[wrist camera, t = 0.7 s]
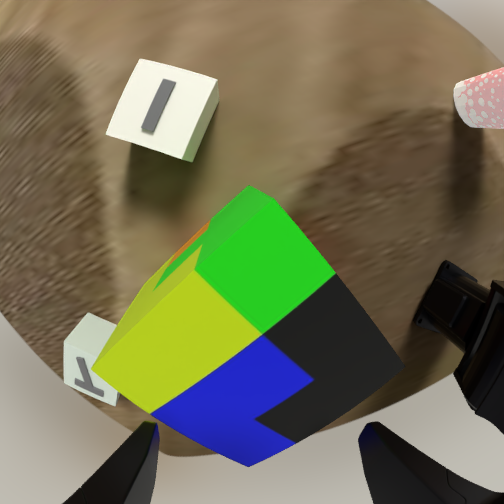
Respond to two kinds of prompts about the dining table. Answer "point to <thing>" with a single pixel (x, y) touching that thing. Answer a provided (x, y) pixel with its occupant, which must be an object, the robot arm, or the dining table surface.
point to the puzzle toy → (247, 337)
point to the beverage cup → (481, 100)
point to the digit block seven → (88, 358)
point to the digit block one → (165, 109)
